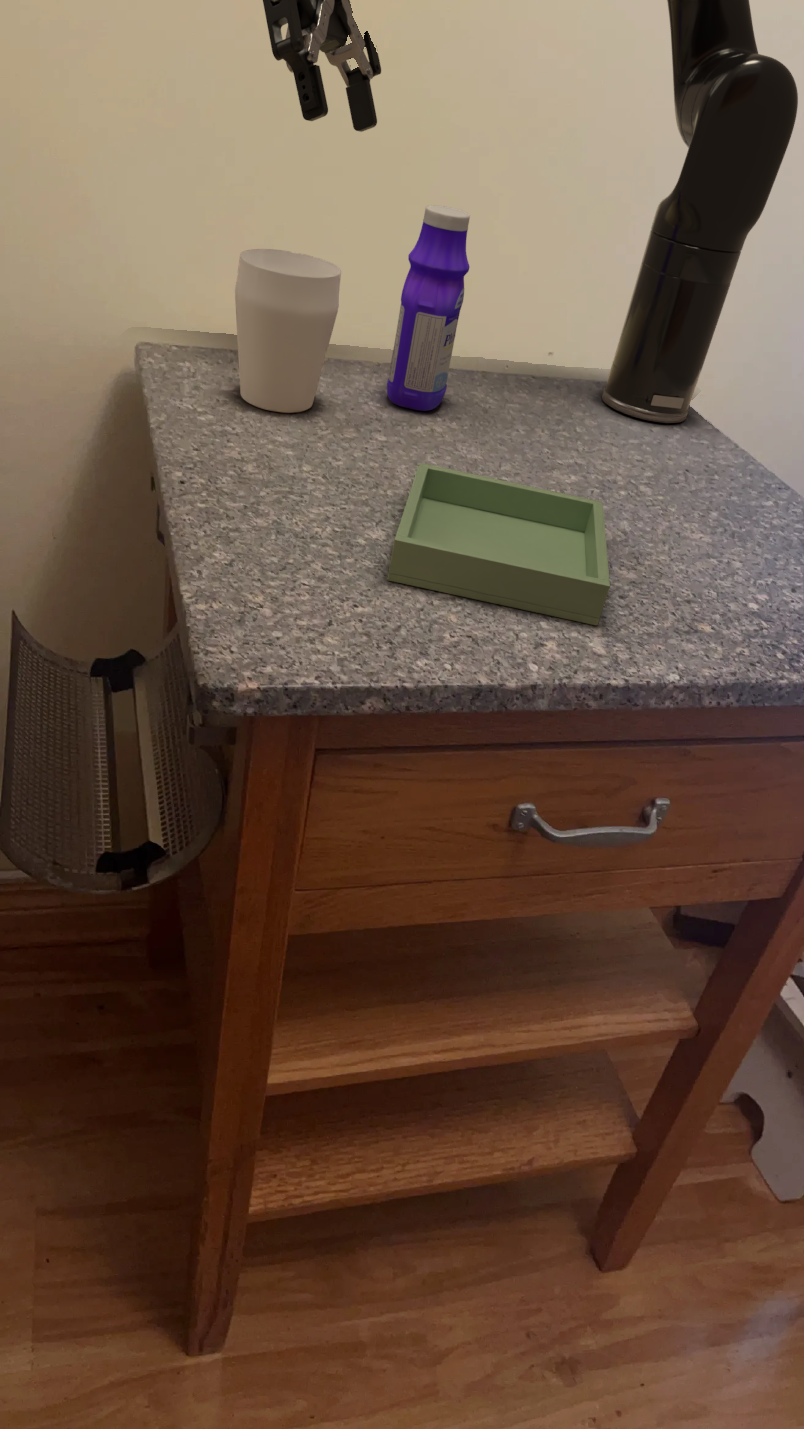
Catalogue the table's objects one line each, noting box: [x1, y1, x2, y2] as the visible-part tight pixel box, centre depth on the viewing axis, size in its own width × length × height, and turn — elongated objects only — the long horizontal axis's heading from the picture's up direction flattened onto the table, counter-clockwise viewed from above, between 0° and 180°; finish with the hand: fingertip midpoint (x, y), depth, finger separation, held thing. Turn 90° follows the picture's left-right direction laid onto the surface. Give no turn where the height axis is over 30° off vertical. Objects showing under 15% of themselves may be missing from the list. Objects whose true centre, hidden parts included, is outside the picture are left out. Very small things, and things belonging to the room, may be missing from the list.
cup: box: [234, 248, 342, 414], centre depth 92 cm, size 9×9×12 cm
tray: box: [386, 462, 611, 626], centre depth 75 cm, size 15×15×3 cm
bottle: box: [386, 204, 471, 412], centre depth 97 cm, size 7×6×17 cm
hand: (342, 124), depth 92 cm, fingers open, 8 cm apart
